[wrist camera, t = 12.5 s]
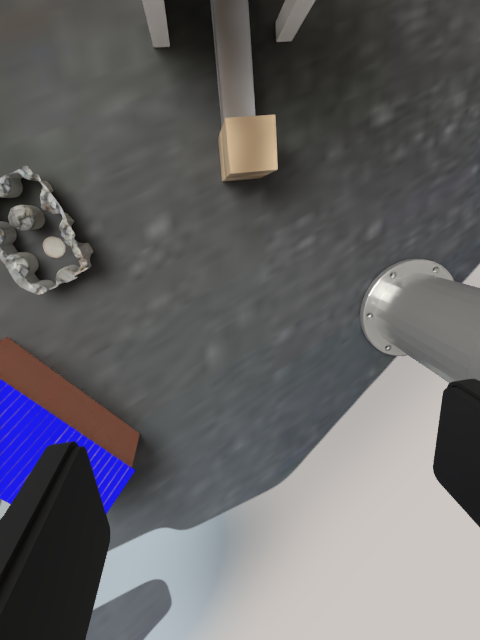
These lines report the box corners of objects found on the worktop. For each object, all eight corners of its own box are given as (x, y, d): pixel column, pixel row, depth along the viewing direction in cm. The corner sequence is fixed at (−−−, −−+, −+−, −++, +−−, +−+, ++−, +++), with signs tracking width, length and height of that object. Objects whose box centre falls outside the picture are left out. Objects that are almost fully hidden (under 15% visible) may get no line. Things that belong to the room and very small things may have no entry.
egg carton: (104, 264, 36) (94, 271, 32) (42, 293, 36) (24, 303, 32) (45, 165, 32) (25, 159, 28) (-24, 197, 32) (-53, 196, 28)
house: (82, 487, 44) (46, 579, 33) (-60, 401, 38) (-163, 478, 27) (143, 432, 43) (126, 508, 32) (7, 332, 36) (-74, 384, 25)
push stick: (246, -36, 29) (264, -122, 21) (259, 178, 35) (277, 169, 27) (201, -35, 29) (203, -123, 21) (222, 181, 34) (230, 173, 27)
